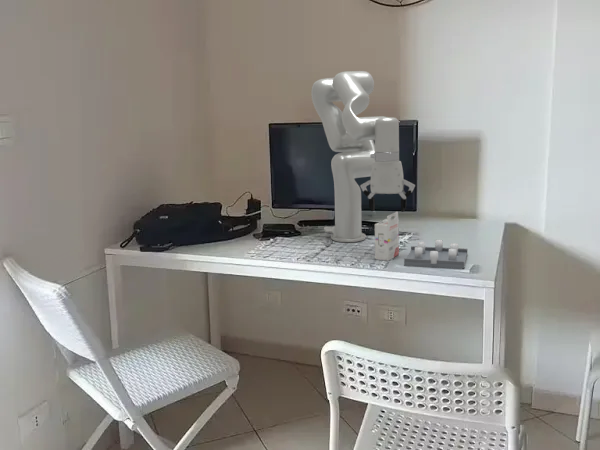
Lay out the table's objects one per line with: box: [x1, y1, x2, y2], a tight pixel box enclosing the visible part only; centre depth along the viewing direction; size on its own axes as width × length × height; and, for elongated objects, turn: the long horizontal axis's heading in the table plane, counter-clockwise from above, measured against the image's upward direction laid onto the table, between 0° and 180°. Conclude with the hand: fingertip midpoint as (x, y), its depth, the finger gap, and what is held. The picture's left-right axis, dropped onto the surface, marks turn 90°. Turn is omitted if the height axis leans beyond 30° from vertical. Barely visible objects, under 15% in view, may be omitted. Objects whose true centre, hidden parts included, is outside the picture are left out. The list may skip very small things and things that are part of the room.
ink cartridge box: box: [374, 211, 400, 262], centre depth 213 cm, size 9×5×15 cm, turn 148°
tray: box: [403, 239, 468, 269], centre depth 209 cm, size 18×17×5 cm
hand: (387, 210), depth 211 cm, fingers open, 9 cm apart
